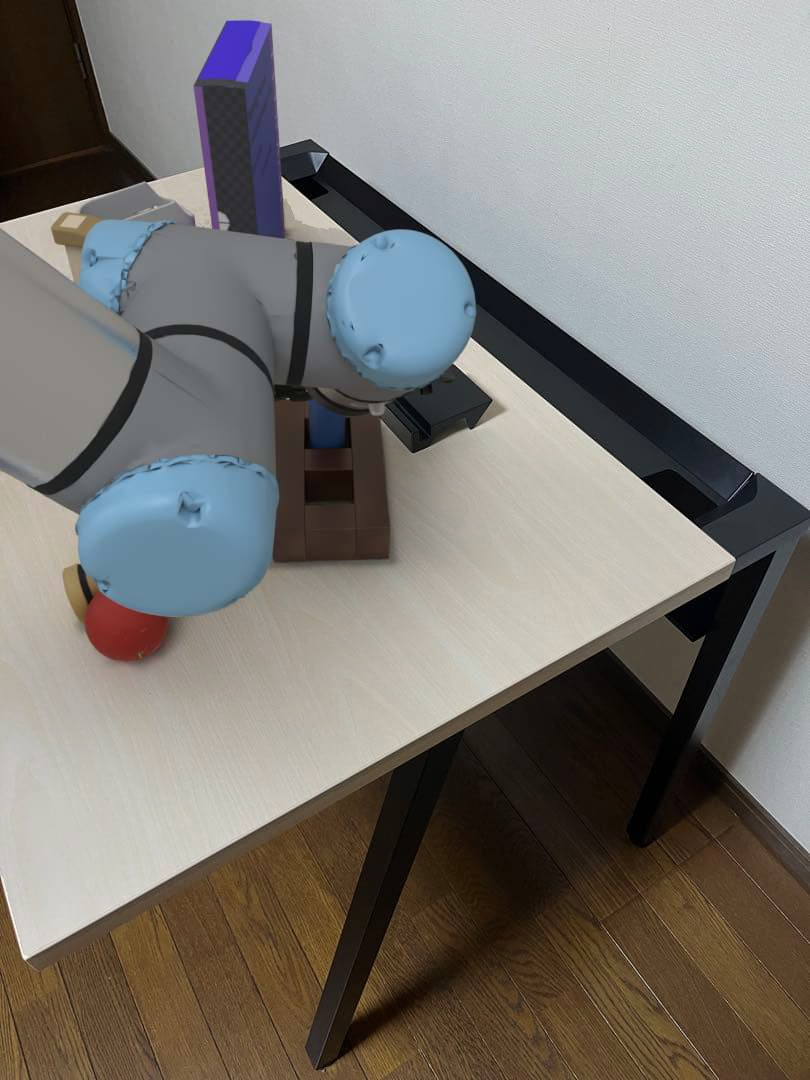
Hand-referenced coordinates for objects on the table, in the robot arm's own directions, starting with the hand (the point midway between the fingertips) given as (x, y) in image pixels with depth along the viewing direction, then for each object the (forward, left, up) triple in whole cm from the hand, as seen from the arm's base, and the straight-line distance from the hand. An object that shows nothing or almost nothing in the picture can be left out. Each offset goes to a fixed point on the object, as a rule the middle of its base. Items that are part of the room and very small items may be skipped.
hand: (320, 392), depth 78 cm
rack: (+1, -5, -7) cm, 9 cm away
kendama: (-17, -16, -7) cm, 24 cm away
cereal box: (-7, +33, -7) cm, 35 cm away
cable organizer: (-18, +26, -7) cm, 33 cm away
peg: (+1, -2, -7) cm, 7 cm away
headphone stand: (-14, +2, -7) cm, 16 cm away
